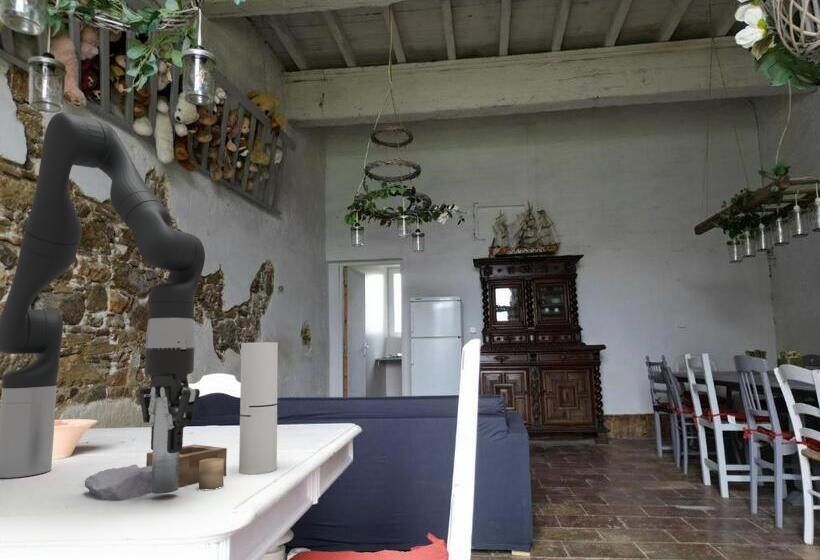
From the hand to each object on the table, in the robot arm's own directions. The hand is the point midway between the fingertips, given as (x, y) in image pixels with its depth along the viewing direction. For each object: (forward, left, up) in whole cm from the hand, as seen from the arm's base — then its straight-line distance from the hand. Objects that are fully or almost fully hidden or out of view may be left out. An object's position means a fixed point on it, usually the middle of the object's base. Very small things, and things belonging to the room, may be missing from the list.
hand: (166, 450), depth 87 cm
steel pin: (0, 0, -6) cm, 6 cm away
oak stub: (+1, +8, -7) cm, 11 cm away
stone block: (-10, -1, -8) cm, 13 cm away
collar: (-9, +10, -7) cm, 15 cm away
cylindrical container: (-2, +21, -8) cm, 22 cm away
